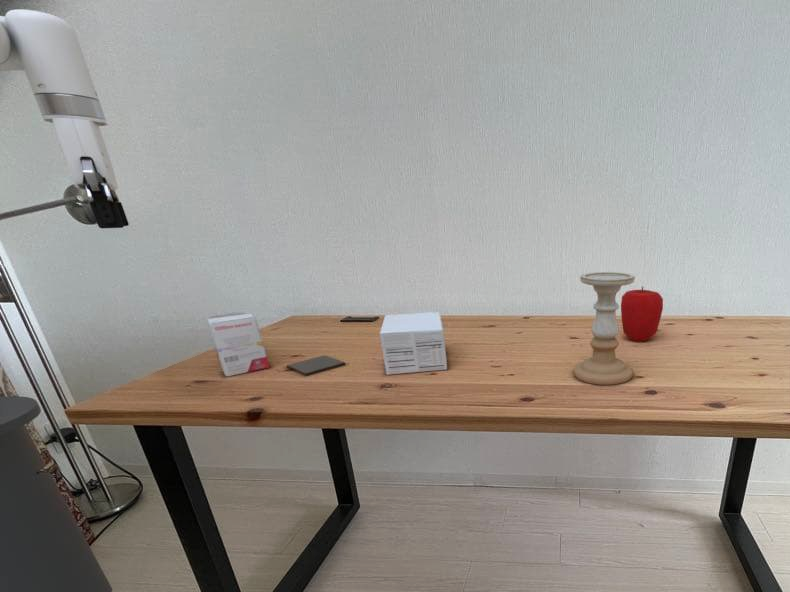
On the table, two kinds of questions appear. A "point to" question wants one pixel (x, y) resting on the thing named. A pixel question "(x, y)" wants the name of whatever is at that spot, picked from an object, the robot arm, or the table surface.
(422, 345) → the supplement box
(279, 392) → the table surface
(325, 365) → the coaster
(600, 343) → the candle holder
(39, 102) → the robot arm
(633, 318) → the apple
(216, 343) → the ink box
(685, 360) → the table surface
